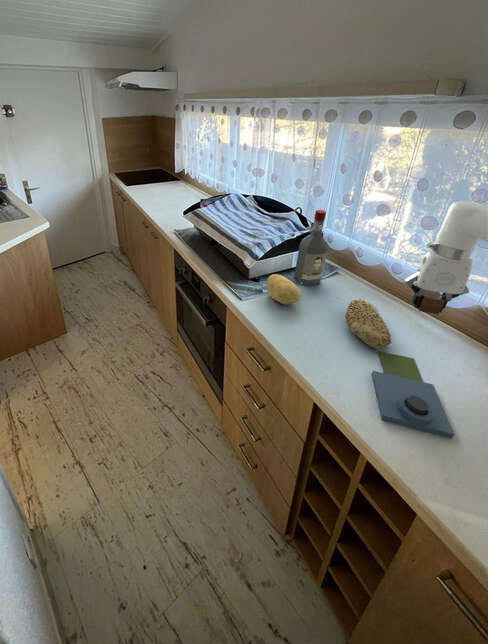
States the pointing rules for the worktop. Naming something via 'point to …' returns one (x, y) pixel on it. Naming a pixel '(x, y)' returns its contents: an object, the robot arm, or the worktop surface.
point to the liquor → (312, 253)
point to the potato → (283, 289)
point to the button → (417, 405)
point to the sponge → (368, 324)
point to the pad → (400, 366)
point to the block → (431, 302)
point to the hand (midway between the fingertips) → (426, 307)
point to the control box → (394, 409)
